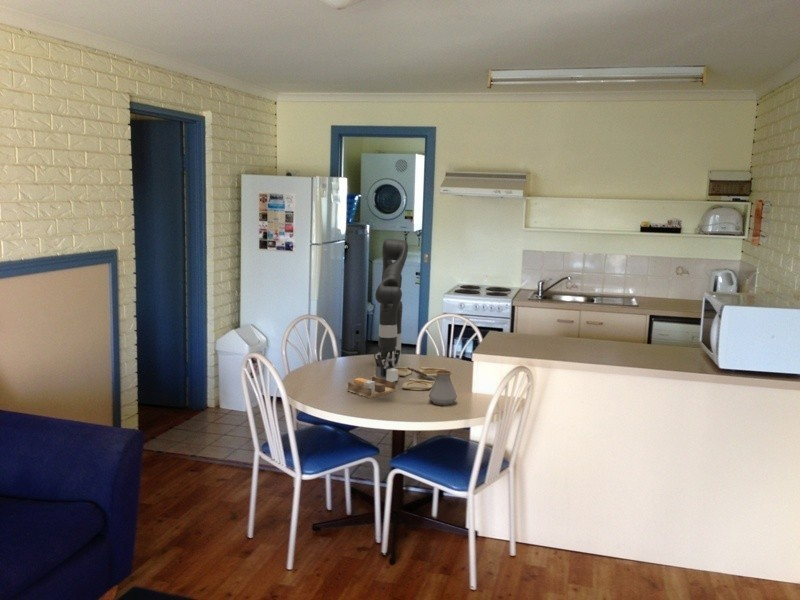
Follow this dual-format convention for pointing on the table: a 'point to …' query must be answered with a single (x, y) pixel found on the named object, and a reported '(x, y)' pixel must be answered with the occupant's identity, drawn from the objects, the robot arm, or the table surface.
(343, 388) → the table surface
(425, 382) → the tableware set
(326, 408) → the table surface
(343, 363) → the table surface
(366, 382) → the orange white rectangular block
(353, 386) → the brown wooden divided tray
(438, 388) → the coffee pot
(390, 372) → the two-tone square pillar
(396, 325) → the robot arm
